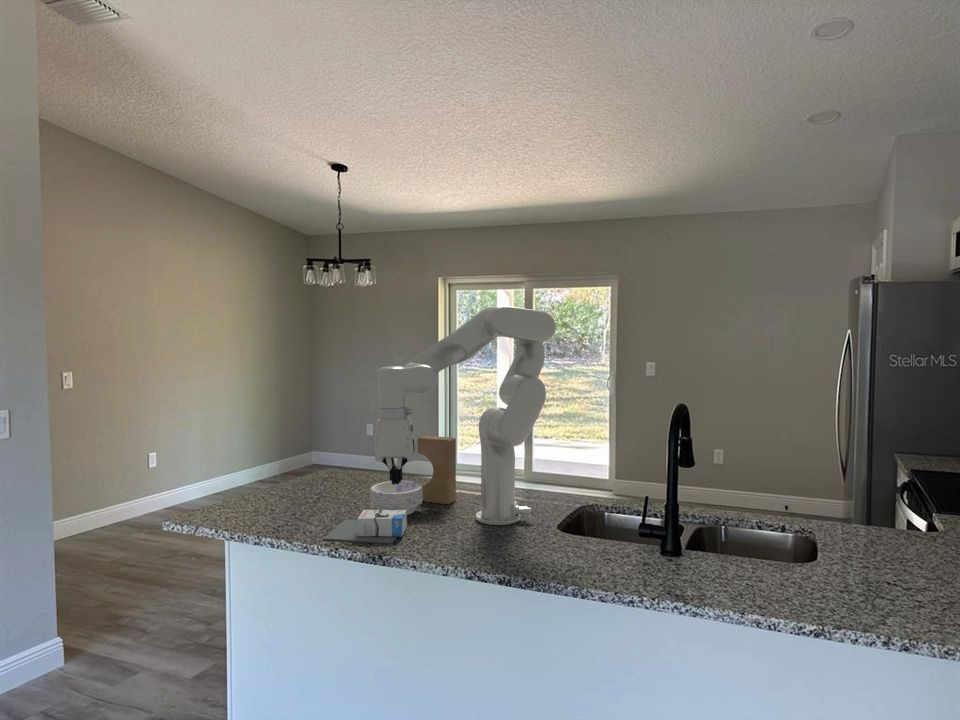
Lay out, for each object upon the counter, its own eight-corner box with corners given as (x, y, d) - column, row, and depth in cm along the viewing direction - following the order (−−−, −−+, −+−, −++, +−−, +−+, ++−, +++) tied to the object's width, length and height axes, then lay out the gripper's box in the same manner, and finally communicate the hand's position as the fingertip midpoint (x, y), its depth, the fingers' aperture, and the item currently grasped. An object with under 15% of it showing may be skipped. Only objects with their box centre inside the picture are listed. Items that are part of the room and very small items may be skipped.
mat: (408, 523, 168) (408, 522, 168) (392, 543, 153) (392, 541, 153) (345, 521, 171) (345, 519, 171) (323, 540, 155) (323, 538, 155)
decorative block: (416, 501, 192) (416, 437, 191) (425, 496, 197) (425, 435, 196) (448, 505, 187) (448, 440, 186) (456, 500, 192) (456, 437, 191)
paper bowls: (361, 518, 174) (361, 490, 173) (382, 504, 188) (382, 478, 188) (412, 522, 170) (412, 494, 170) (429, 507, 185) (429, 481, 184)
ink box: (402, 518, 156) (356, 518, 156) (402, 537, 156) (356, 537, 156) (406, 508, 164) (363, 508, 164) (406, 527, 164) (363, 526, 165)
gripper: (424, 411, 162) (427, 479, 163) (370, 412, 164) (373, 479, 165) (418, 415, 155) (421, 486, 156) (361, 416, 157) (364, 486, 158)
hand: (396, 482), depth 161 cm, fingers closed
